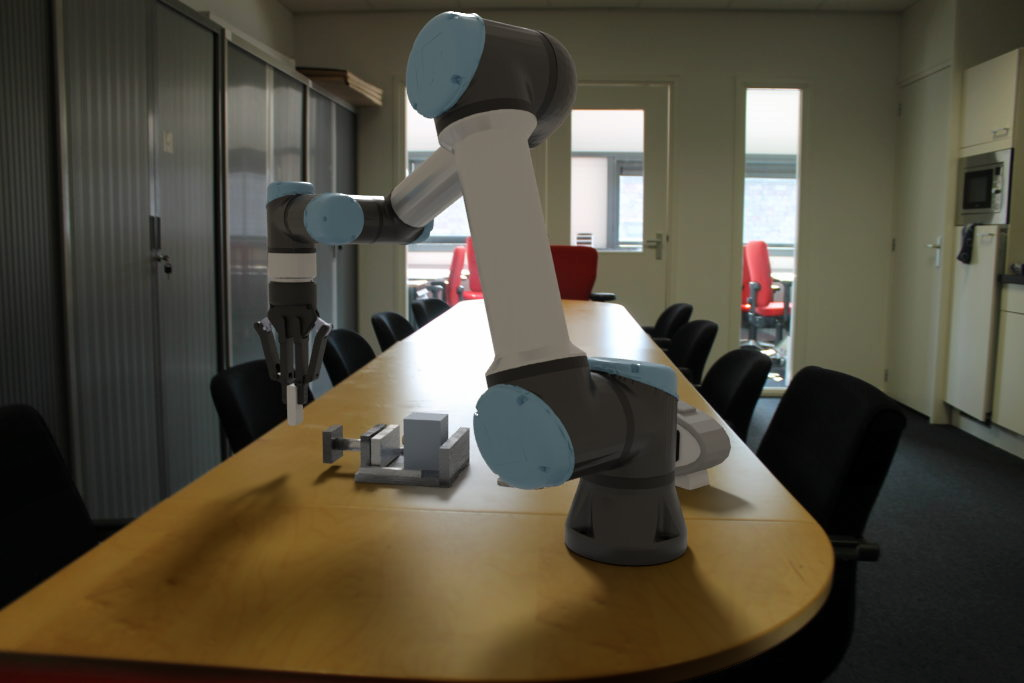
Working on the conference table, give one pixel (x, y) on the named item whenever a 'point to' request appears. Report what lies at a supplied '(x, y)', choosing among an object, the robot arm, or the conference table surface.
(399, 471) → the press bed
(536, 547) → the conference table surface
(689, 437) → the alarm clock
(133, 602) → the conference table surface
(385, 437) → the ram
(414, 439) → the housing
